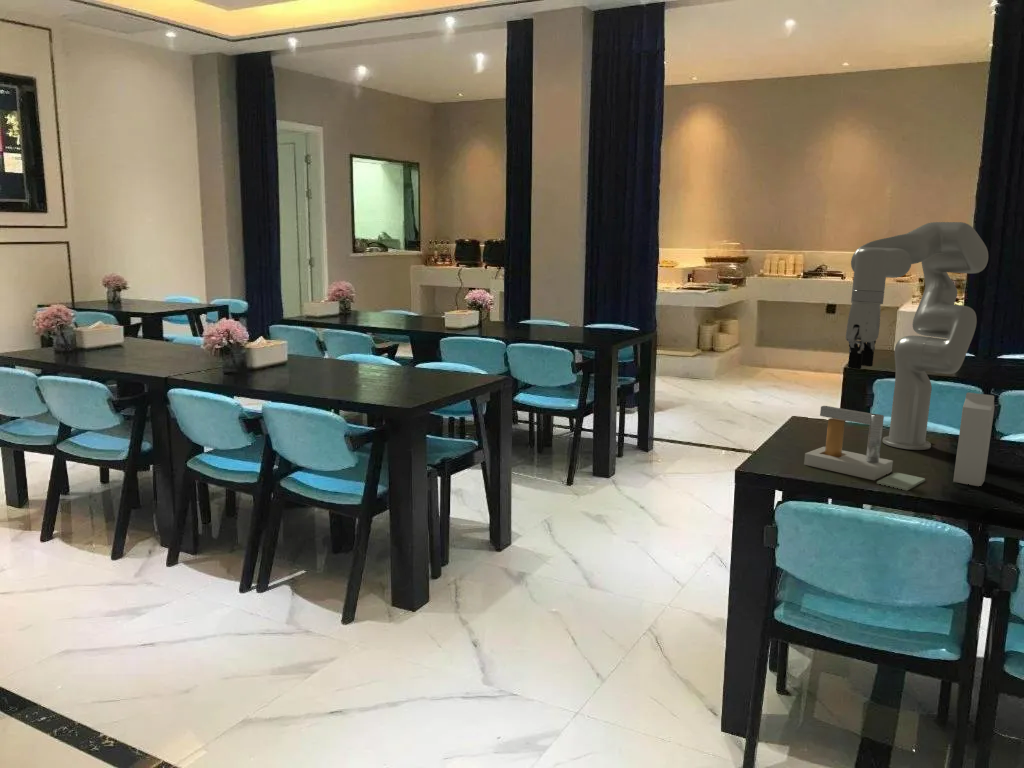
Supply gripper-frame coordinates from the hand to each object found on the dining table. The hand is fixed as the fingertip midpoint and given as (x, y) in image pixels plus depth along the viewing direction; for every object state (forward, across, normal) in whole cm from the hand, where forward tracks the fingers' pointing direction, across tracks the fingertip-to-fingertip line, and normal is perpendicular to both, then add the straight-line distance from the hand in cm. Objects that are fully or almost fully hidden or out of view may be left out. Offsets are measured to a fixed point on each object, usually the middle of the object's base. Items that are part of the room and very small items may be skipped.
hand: (860, 366), depth 209 cm
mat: (+26, +8, +16) cm, 31 cm away
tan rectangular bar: (+26, +6, -2) cm, 27 cm away
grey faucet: (+22, +6, +2) cm, 23 cm away
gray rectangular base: (+26, +6, +2) cm, 27 cm away
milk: (+26, -6, +27) cm, 38 cm away
